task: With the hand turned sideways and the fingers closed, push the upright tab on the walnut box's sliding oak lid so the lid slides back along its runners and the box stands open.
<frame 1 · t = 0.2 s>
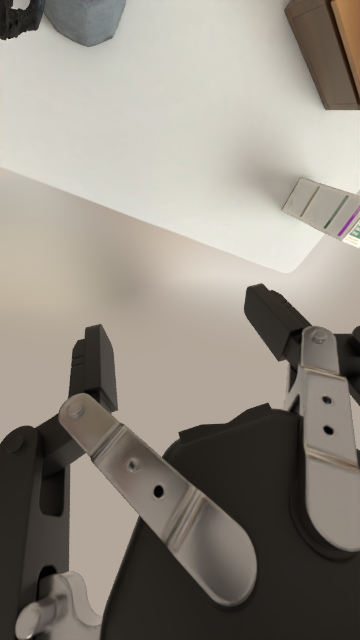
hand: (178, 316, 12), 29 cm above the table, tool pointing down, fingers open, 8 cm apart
syrup box: (300, 198, 42), on the table
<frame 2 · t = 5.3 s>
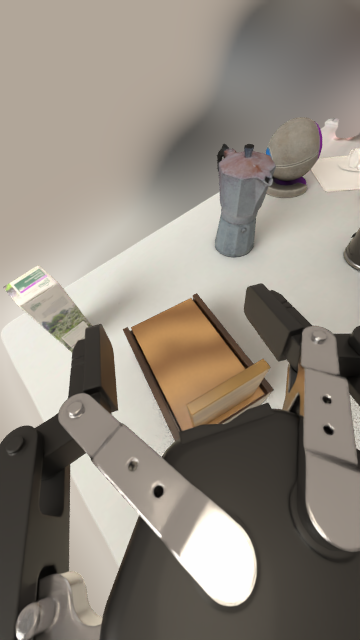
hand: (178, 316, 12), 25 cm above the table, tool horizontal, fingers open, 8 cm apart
lid: (187, 342, 27), point 11 cm above the table, slide at 0.0 cm
webcam: (282, 186, 65), on the table
syrup box: (78, 335, 43), on the table
moka pot: (231, 245, 53), on the table
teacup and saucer: (349, 172, 66), on the table
box: (192, 374, 36), on the table
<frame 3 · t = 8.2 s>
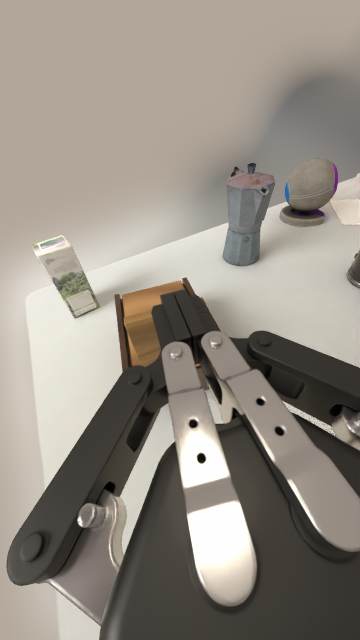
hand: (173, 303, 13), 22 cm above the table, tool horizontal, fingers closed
lid: (157, 299, 30), point 11 cm above the table, slide at 0.0 cm
webcam: (301, 218, 69), on the table
syrup box: (84, 307, 49), on the table
moka pot: (239, 256, 57), on the table
box: (168, 349, 38), on the table
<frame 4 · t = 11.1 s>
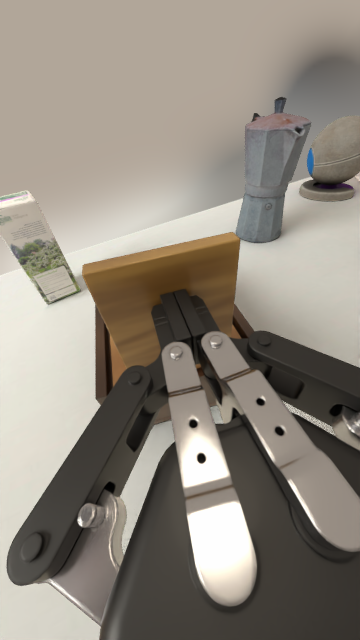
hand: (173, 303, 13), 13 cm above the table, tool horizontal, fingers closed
lid: (152, 262, 20), point 11 cm above the table, slide at 0.4 cm, touching gripper
webcam: (325, 193, 59), on the table
syrup box: (61, 291, 38), on the table
moka pot: (255, 233, 47), on the table
box: (169, 343, 28), on the table
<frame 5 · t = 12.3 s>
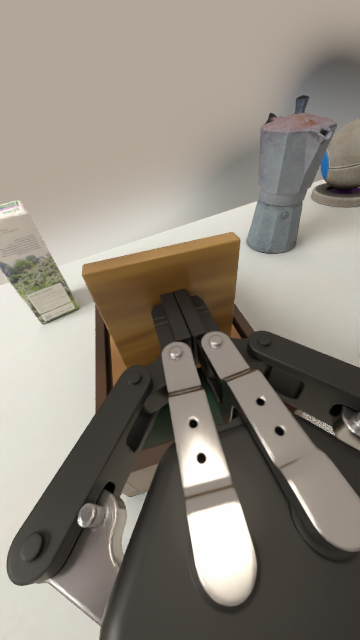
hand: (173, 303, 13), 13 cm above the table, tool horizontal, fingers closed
lid: (152, 262, 20), point 11 cm above the table, slide at 5.1 cm, touching gripper
webcam: (339, 198, 56), on the table
syrup box: (58, 308, 35), on the table
moka pot: (268, 242, 43), on the table
box: (179, 375, 24), on the table
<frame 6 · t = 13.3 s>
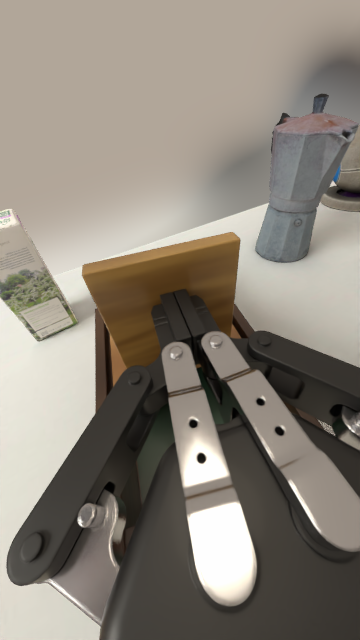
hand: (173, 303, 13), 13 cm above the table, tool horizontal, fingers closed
lid: (152, 261, 20), point 11 cm above the table, slide at 8.5 cm, touching gripper
webcam: (349, 201, 53), on the table
syrup box: (55, 322, 33), on the table
moka pot: (277, 250, 41), on the table
box: (188, 404, 22), on the table
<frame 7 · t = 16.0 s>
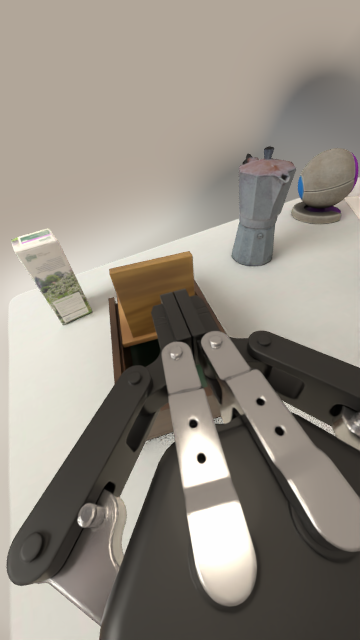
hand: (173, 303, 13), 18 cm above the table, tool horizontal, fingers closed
lid: (147, 266, 30), point 11 cm above the table, slide at 8.5 cm
webcam: (315, 215, 64), on the table
syrup box: (74, 312, 43), on the table
moka pot: (249, 256, 51), on the table
box: (172, 363, 32), on the table
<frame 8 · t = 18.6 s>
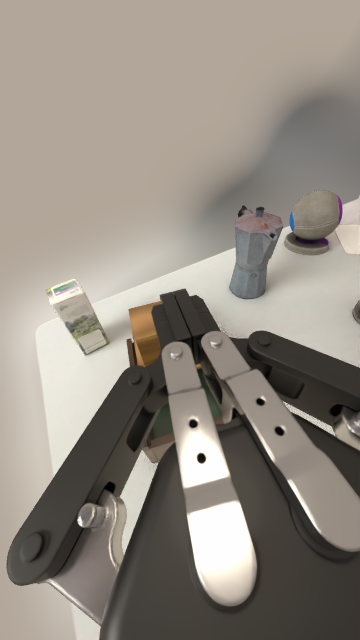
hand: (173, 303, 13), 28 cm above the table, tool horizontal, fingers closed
lid: (159, 315, 37), point 11 cm above the table, slide at 8.5 cm
webcam: (305, 245, 70), on the table
syrup box: (94, 342, 50), on the table
moka pot: (245, 288, 58), on the table
box: (179, 393, 39), on the table
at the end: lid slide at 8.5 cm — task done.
